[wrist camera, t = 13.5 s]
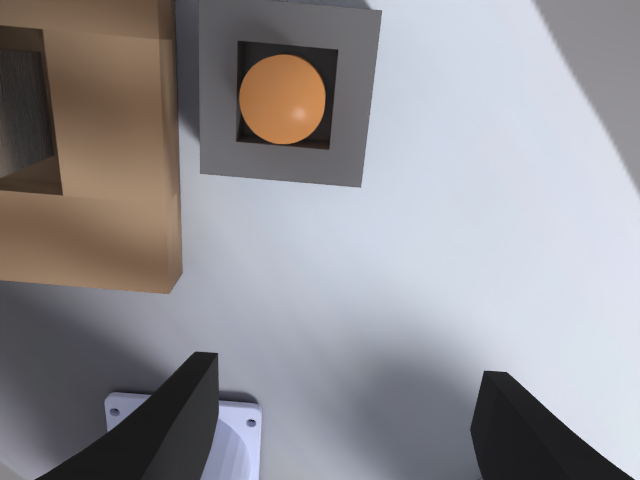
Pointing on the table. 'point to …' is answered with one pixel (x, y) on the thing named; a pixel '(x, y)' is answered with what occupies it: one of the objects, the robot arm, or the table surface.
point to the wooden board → (98, 148)
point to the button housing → (273, 39)
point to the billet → (23, 111)
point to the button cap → (283, 98)
